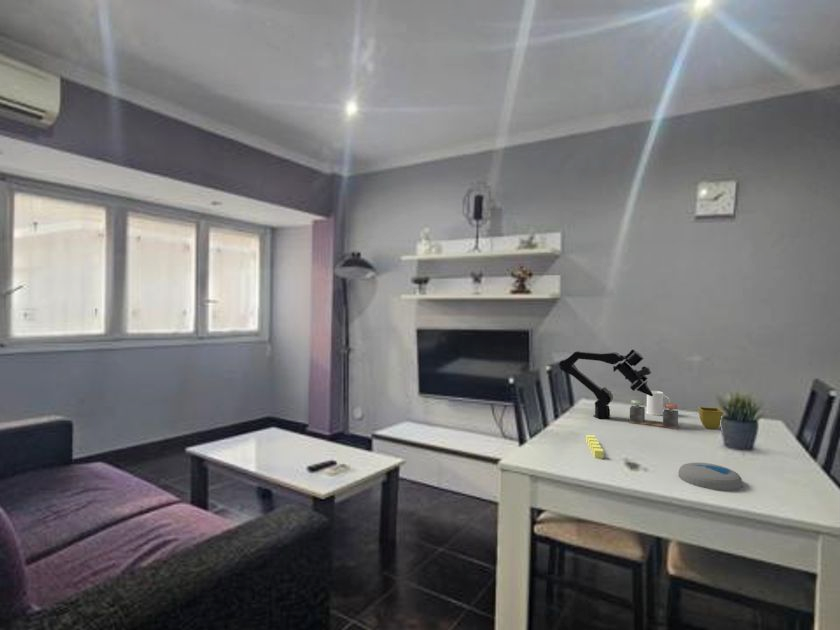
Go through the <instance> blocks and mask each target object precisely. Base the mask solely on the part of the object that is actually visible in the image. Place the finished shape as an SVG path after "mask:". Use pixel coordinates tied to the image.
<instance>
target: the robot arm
mask: <svg viewBox="0 0 840 630" xmlns="http://www.w3.org/2000/svg"><path fill="white" fill-rule="evenodd" d="M578 360H588V361H599V362H603V363H606V364H610V365H613V372H616V371H618V372H620V374H621V375H622V376H623V378H624V379H625V380H627V381H629V383H630V384H631V385H630V389H631V390H632V391H633V392H634V391H638V392H640V393H643V394H645V395H646V396H647V395H649V396H653V394H652V392H651V391H652V390H651V389H650V387H649V385H648V379H649V377H648V376H647V375H651V373H652V371H651V369H650V367H649V366H648V367H647V366H642V367H641V369H640V370H637V369H635V368H633V367H632V366H634V367H636V366H637V365H638V364H639V363H641V361H643V360H644V357H643V356H642V355H641V353H639V352H637V351H636V350H635V349H631V350H630V352H629V353H627V354H626V355H621V354H619V353H618V352H607V353H604V352H603V353H600V352H588V351H580V350H579V351H577V350H576V351H574V352H573V353H572V354H571V355H570V356H569V357H567V358H566V359H563V360H561V361H560V362H559V364H558V366H559V369H560V371H563V372H564V373H566V374H568V375H570V376H572V377H573V378H575V379H576V380H577V381H579V382H580V383H581V384H582V385H583V386H585V387H586V388H587V389H588V390H589V391H591V392H592V394H594V396H595V397H596V399H597V400H596V401H595V402H594V415H593V417H595V418H597V419H599V420H603V419H604V420H607V419H611V417H610V416H611V412H610V411H611V409H610V406H609V404H611V402H613V400H614V395H613V394H612V391H611V390H608V388H607V387H606V386H605V387H600V386H598V385H597V384H596V383H595V382H594V381H593V380H591V379H590V378H589V377H588V376H586V375H585V374H584V373H583V372H581V371H580V370H579V369H578V368H577V367H576V364H575V363H577V362H578Z"/></svg>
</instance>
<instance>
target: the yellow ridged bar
mask: <svg viewBox="0 0 840 630" xmlns="http://www.w3.org/2000/svg"><path fill="white" fill-rule="evenodd" d="M585 438H586V439H585V441H586V444H587V446H588V448H589V451H591V454H592V456H593V458H594V457H595V458H594V459H601V458H603V459H604V458H605V457H604V449H603V448H602V446H601V444H600V443H599V441H598V439H597V438H596V436H595V435H592V434H586V436H585Z"/></svg>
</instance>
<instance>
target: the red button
mask: <svg viewBox="0 0 840 630" xmlns="http://www.w3.org/2000/svg"><path fill="white" fill-rule="evenodd" d="M663 407H665V408H666V409H668V410H669V412H673V410H676V409H678V404H676V403H671V402H670V403H669V402H666V403H663Z"/></svg>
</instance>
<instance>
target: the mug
mask: <svg viewBox="0 0 840 630" xmlns="http://www.w3.org/2000/svg"><path fill="white" fill-rule="evenodd" d="M650 391H651V392H652V394H653V396H649V395H647V394H646V410H645V414H647V415H650V416H657V417H658V416H660V415H661V416H663V411H664V409H665V410H667V408H665V407H664V398H666V399H668V403H671V400H670V398H669V397H668V396H667V395H666V394H664V392H663V391H658V390H650Z"/></svg>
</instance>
